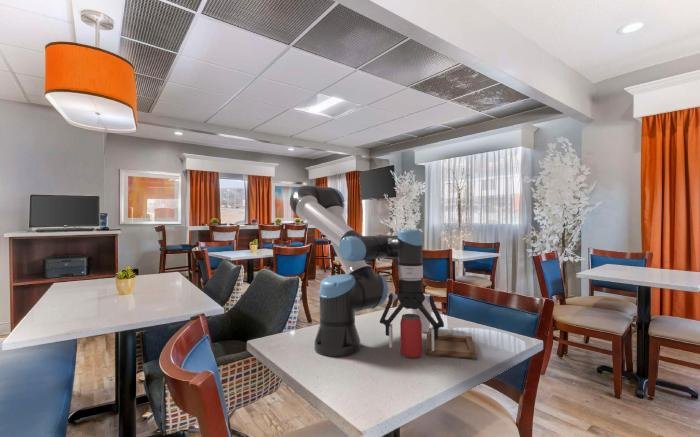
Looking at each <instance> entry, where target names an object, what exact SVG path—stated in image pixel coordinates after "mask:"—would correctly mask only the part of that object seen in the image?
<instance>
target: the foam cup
mask: <svg viewBox="0 0 700 437" xmlns="http://www.w3.org/2000/svg"><path fill="white" fill-rule="evenodd" d="M423 294H424V296H429V295H430V294H427V293H423ZM422 304H423V306H424V307H425V309H426V310H427V311H428V312H429V314H430V315H431V316H432V312H433V310H432V308H431V305H430V303H428V302H427V300H426V299H425V300H424V301H423V302H422ZM409 314H416V315H419V316H420V320H421V323H422V334H423V333H429V331H430V327H431V326H430V325H431V323H430V322H429V321H428V320H427V318H426V317H425V316H424V314H423V313H422V312H421V311H420V310H419V308H417V309H409Z"/></svg>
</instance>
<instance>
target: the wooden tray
mask: <svg viewBox="0 0 700 437" xmlns="http://www.w3.org/2000/svg"><path fill="white" fill-rule="evenodd" d="M425 341H426V342H425V356H429V357H431V356H432V357H441V358H449V359H450V358H452V359H464V360H472V361H473V360H474V361H478V352H477V348H476V346H475V342H474V340H473V338H472V336H471V335H455V334H454V333H450V332H449V333H448V332H444V333H443V334H441V333H438V339H434V351H432V332H431V333H429V332H426V339H425Z"/></svg>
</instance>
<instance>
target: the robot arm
mask: <svg viewBox="0 0 700 437" xmlns="http://www.w3.org/2000/svg"><path fill="white" fill-rule="evenodd" d="M289 206H290V208H291V209H290V210H291V211H292V213H294V214H295V215H296V216H297V217H298V218H300V219H302V220H306V221H307V222H308V223H310V224H311V225H312V226H313V227H314V228H315V229H316V230H318V231H319V232H321V233H322V234H323V235H324V236H325V237H326V238H327V239H329V240H330V243H331V245H332V248H333V249H334V251H335V254H336V256H337V259H338V261H339V263H340V265H341V267H342V269H343V271H344V273H342V274H341V273H340V274H334V275H333V274H332V275H330V276H327V277H325V278H323V279H322V280H321V282H320V284H319V292H318V296H319V326H318V330H317V333H316V335H315V340H314V351H315V352H316V353H318V354H320V355H322V356H328V357H346V356H350V355H351V356H352V355H354V354H356V353H358V352H359V351H360V349H361V339H360V336H359V332H358V329H357V327H356V313H358V312H362V311H365V310H369V309H375V308H377V307H379V306H381V305H383V304H384V303H385V302H386V300H387V299H388V301H387V304H386V306H385V308H384V311H383V313H382V315H381V317H380V320H379V323H380V324H383V325H384V326H385V335H386V336H387V337H388V347H389V348H393V337H394V336H393V324H392V322H393V321H394V319H395V318H396V317H397V316H398V315H399V313H400V312H401V311H402V310H403V308H404V309H406V310H410V309H417V308H419V310H420V311H421V312H422V313H423V314H424V316H425V317H426V318H427V320H428V321H429V322H430V325H431V333H432V351H434V339H438V334H439V329H440V328H444V327H445V323H444V320H443V318H442V316H441V314H440V312H439V310H438V307H437V306H436V302H435V299H434V295H433V294H429V296H424V294H425V293H424V280H423V277H424V267H423V264H424V263H423V243H424V242H423V233H422V231H421V230H420V229H399V230H398V231H397V235H391V234H389V235H386V234H377V235H362V234H361V233H359V232H358V231H356V230H355V229H354V228H352V227H351V226H350V225H348V224H347V222H346V220H345V218H344V216H343V214H344V209H345V197H344V196H343V194H342V191H340V190H339V189H337V188H336V187H335V188H334V187H331V186H317V185H316V186H314V185H302V186H301V185H300V186H299V187H297V188H295V189H294V190H293V191H292V192H291V195H290V198H289ZM377 259H396V260H397V259H398V263H397V264H398V277H399V279H398V294H396V293H393V292H390V293H389V284H388V282H387V279H386V277H384V275H382V274H380V273H376V271H375V270H374V268H373V266H372V265H371V264H367V263H366V260H367V261H368V260H377ZM396 299H397V300H398V301H399V304H398V306H396V308H395V310H394V311H393V312H392V313H391V315H390V316H389V317H388V318H387V319H386V317H387V316H388V313H389V312H390V309H391V306H392V304H393V302H395V301H396ZM425 299H426V300H427V302H428V303H430V305H431V308H432V312H433V314H434V316H435V319H436V320H437V321H436V320H435V319H434V317H433V316H432V314H431V315H430V314H429V312H428V311H427V310H426V309H425V307H424V306H423V304H422V302H423V301H424V300H425Z"/></svg>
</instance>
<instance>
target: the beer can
mask: <svg viewBox="0 0 700 437" xmlns="http://www.w3.org/2000/svg"><path fill="white" fill-rule="evenodd" d="M399 324H400V328H399V329H400V330H399V331H400V332H399V334H400V344H399V345H400V346H399V347H400V355H402V356H403V357H405V358H410V359H416V358H420V357H422V355H423V340H422V339H423V335H422V334H423V333H422V323H421V320H420V316H419V315H416V314H410V313H404V314H402V316H401V319H400V323H399Z"/></svg>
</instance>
